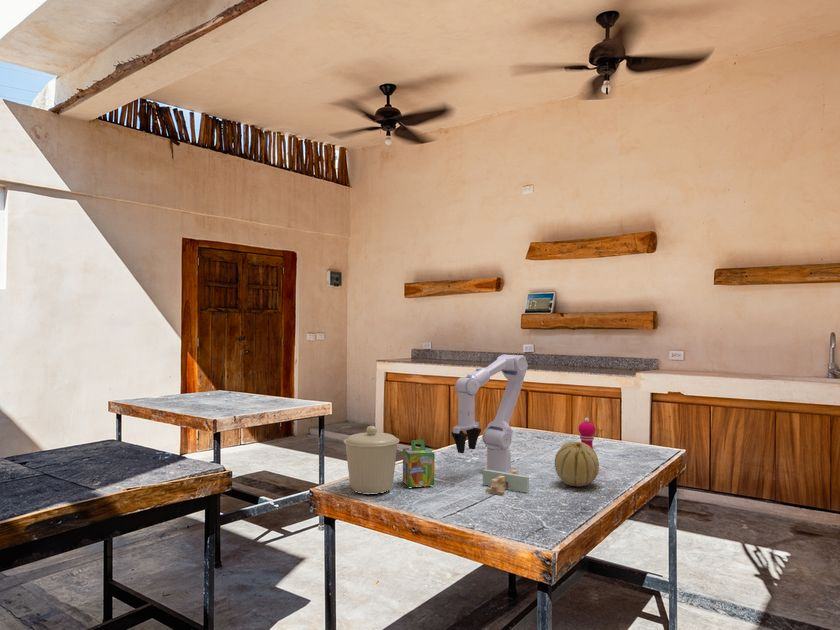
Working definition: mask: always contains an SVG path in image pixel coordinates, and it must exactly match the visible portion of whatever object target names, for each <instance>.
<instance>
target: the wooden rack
mask: <svg viewBox="0 0 840 630" xmlns="http://www.w3.org/2000/svg"><path fill="white" fill-rule="evenodd" d="M508 473H511V474H517V475H519V470H518V469H517V470H516V469H513V470H512V471H510V472H508ZM491 481H492V487H491V488H485V493H486V492H488V493H487V494H491V493H492V494H491V495H496V494H497V495H496V496H501V495H503V496H504V495H505V490H507V488H508V489H509V482H505V476H499V477H497V478H494V479H492V480H491Z"/></svg>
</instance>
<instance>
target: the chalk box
mask: <svg viewBox="0 0 840 630" xmlns="http://www.w3.org/2000/svg"><path fill="white" fill-rule="evenodd" d="M416 444H419V445H420V447H416ZM410 445H411V447H409V448H402V482H403V481H404V482H405V484H406V485H407V486H408V487H416V486H430V485H434V486H435V463H436V462H435V460H436V459H435V456H436V455H435V452H433V451H432V449H429V448H428V447H425V440H424V439H416V440H415V439H414V440H411V444H410ZM405 484H404V485H405ZM406 485H405V486H406ZM407 486H406V487H407ZM408 487H407V488H408Z"/></svg>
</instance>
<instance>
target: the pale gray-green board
mask: <svg viewBox="0 0 840 630" xmlns="http://www.w3.org/2000/svg"><path fill="white" fill-rule="evenodd" d="M482 471H483V472H482V485H483V484H484V485H483V486H485V485H488V486H487V487H491V486H492V481H491V480H492V479H494V478H497V477H499V476H505V482H509V488H508V491H513V490H515V491H514V492H518V491H520V492H519V493H523V492H526V493H525V494H528V493H529V492H530V484H529V483H530V476H529V475H523V474H518V475H517V474H511V473H505V472H499V471H493V470H487V468H484V469H482ZM527 492H528V493H527Z"/></svg>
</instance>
